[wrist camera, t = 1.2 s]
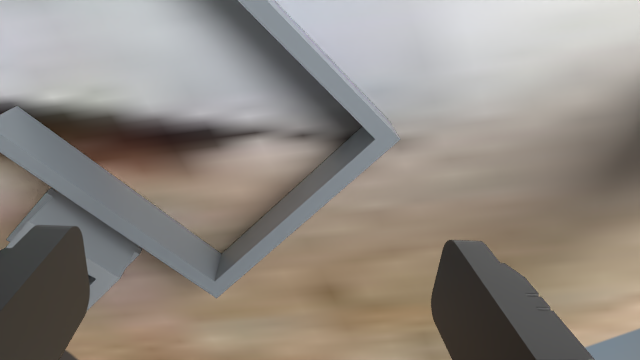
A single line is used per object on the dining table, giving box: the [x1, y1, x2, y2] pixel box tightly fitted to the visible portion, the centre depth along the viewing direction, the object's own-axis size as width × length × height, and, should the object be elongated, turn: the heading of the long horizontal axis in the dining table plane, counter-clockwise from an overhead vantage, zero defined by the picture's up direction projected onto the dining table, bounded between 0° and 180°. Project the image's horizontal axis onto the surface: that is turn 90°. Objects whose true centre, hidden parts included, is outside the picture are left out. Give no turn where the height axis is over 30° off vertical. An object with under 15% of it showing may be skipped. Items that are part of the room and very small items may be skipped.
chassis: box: [0, 0, 400, 310], centre depth 26 cm, size 24×16×4 cm
